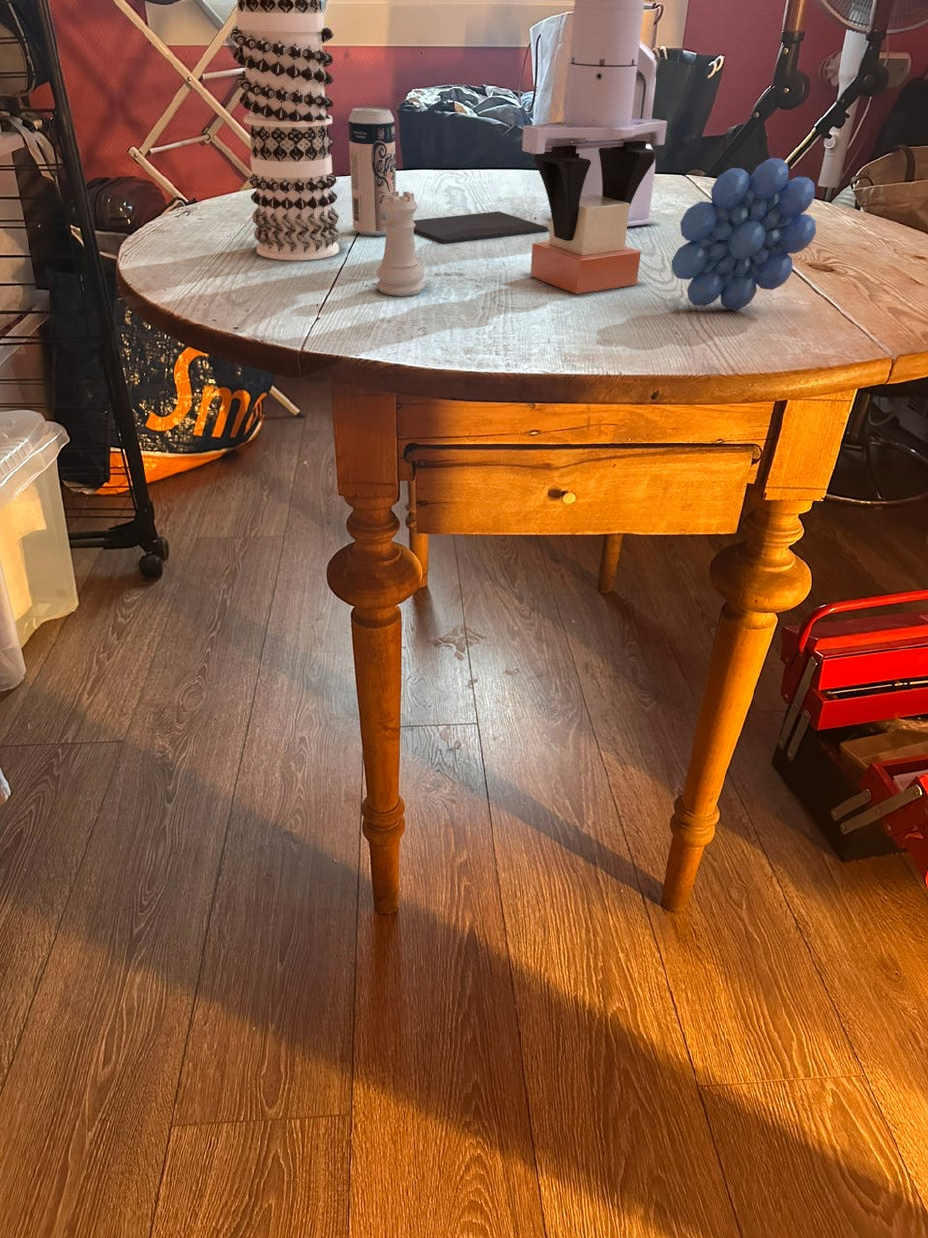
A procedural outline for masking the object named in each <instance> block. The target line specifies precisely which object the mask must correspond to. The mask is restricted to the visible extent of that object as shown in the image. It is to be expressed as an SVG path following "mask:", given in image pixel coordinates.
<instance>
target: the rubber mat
mask: <svg viewBox="0 0 928 1238" xmlns="http://www.w3.org/2000/svg"><path fill="white" fill-rule="evenodd" d="M413 222H414V223H415V224H416V225H415V227H414V233H415V234H419V235H421V236H424V237H426V238H428V239H431V240H433V241H436V242H438V243H441V244H448V243H449V244H450V243H458V242H467V241H475V240H483V239H490V238H491V239H493V238H498V237H499V238H500V237H509V236H516V235H518V236H519V235H525V234H533V233H534V234H535V233H542V232H548V230H549V227H548V226H545V225H542V224H540V223H536V222H532V221H530V220H526V219H524V218H521V217H517V216H514V215H512V214H508V213H505V212H502V211H487V212H480V213H470V214H461V215H452V216H451V215H450V216H440V217H434V218H433V217H432V218H431V217H430V218H424V219H415V220H414V219H413Z"/></svg>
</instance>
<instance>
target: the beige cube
mask: <svg viewBox="0 0 928 1238" xmlns="http://www.w3.org/2000/svg"><path fill="white" fill-rule="evenodd" d="M629 206H630V204H629V203H626V202H622V201H619V200H615V199H611V198H607V197H604V196H600V195H596V194H591V195H581V197H580V202H579V210H578V219H577V226H576V230H575V235H574V238H573V240H572V241H565V240H562V239H559V238H556V237H555V236H554V228H553V221H552V215H551V214H550V226H549V244H550V245H553V246H556V247H559V248H562V249H564V250H567V251H570V252H573V253H576V254H579V255H582V256H583V255H591V254H598V253H605V252H613V251H620V250H624V249H625V247H626V239H627V230H628V226H627V223H628V214H629Z"/></svg>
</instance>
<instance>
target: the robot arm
mask: <svg viewBox="0 0 928 1238" xmlns="http://www.w3.org/2000/svg"><path fill="white" fill-rule="evenodd" d="M644 9H645V0H574V5H573V10H572V20H571V21H572V22H571V35H570V50H569V59H568V61H567V70H566V71H567V72H566V77H565V82H564V90H563V100H562V102H563V103H562V120H560V121H553V122H546V123H540V124H539V123H538V124H529V125H523V127H522V130H523V131H522V146H521V147H522V148H521V151H522V152H525V153H530V154H533V160H534V164H535V166H536V168H537V170H538V173H539V175H540V177H541V180H542V183H543V185H544V188H545V192H546V195H547V200H548V204H549V209H550V216H551V215H552V221H553V228H554V236H555V237H556V238H559V239H562V240H565V241H572V240H573V238H574V235H575V230H576V226H577V219H578V210H579V202H580V197H581V195H591V194H596V195H600V196H604V197H607V198H611V199H615V200H619V201H622V202H626V203H629V204H630V206H629V214H628V223H627V227H635V226H643V225H650V224H651V225H652V224H653V223H654V219H653V218H650V214H651V213H650V212H651V204H652V196H653V188H654V180H655V173H656V153H657V151H656V150H655V149H653V147H652V146H664V145H665V142H666V141H665V140H666V133H667V125H668V121H667V120H662V119H657V118H656V119H655V118H653V109H654V100H655V93H656V82H657V77H656V73H657V66H658V65H657V64H658V62H657V60H656V55H655V54H654V53H653V52H654V51H652V50H651V49H650V48H649V47H648V46H647V45H646V44H645V43H644V42H643V41H642V40H641V37H642V36H641V35H642V27H643V19H644ZM638 71H639V72H638Z"/></svg>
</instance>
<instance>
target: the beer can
mask: <svg viewBox="0 0 928 1238" xmlns="http://www.w3.org/2000/svg"><path fill="white" fill-rule="evenodd" d="M347 123H348V139H349V140H348V143H349V144H348V145H349V162H350V163H349V164H350V165H349V167H350V186H351V209H352V228H353V230H355V231H357V233H359V234H360V235H363V236H372V237H373V236H374V237H376V236H377V237H379V236H386V228H385V226H384V225H383V224H384V223H385V222H386V214H385V213H384V211H383V210H382V208H381V207H380V205H381V204H382V202H383V201H384V194H385V193H386V192H391V195H392V196H393V191H397V179H396V177H397V176H396V174H397V173H396V125H395V118H394V116H393V114H392V112H391V109H389V108H386V107H385V108H384V107H354V108H352V109H351V112H350V114H349V117H348V121H347Z"/></svg>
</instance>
